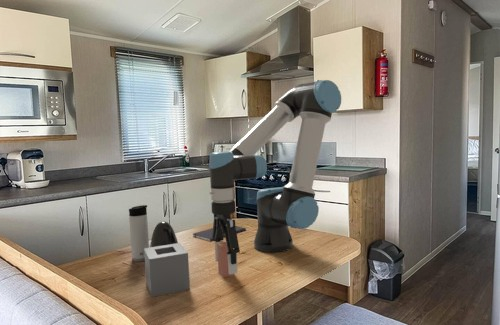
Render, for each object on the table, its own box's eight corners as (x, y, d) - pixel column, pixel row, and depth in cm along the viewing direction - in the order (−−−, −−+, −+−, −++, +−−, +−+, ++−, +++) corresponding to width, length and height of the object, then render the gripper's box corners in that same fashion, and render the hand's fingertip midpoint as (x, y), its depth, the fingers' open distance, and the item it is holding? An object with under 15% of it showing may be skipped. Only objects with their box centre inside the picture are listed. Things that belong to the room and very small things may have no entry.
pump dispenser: (154, 271, 125) (151, 227, 124) (147, 262, 134) (145, 220, 133) (184, 265, 130) (181, 222, 129) (175, 257, 139) (173, 216, 138)
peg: (230, 270, 124) (228, 241, 123) (234, 275, 120) (233, 244, 119) (218, 273, 122) (217, 243, 121) (222, 277, 118) (221, 246, 117)
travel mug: (145, 262, 135) (142, 207, 133) (128, 261, 136) (125, 207, 134) (153, 256, 141) (150, 203, 139) (137, 255, 142) (133, 203, 141)
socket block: (181, 276, 120) (179, 242, 119) (189, 289, 110) (187, 252, 109) (146, 283, 116) (144, 248, 115) (151, 297, 106) (149, 259, 105)
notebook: (210, 242, 158) (245, 231, 173) (210, 238, 157) (245, 228, 173) (191, 237, 166) (227, 227, 182) (191, 233, 166) (226, 223, 181)
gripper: (201, 196, 129) (204, 257, 130) (224, 208, 106) (227, 282, 108) (222, 193, 131) (224, 253, 133) (249, 205, 109) (251, 277, 111)
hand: (226, 266), depth 121 cm, fingers open, 12 cm apart
